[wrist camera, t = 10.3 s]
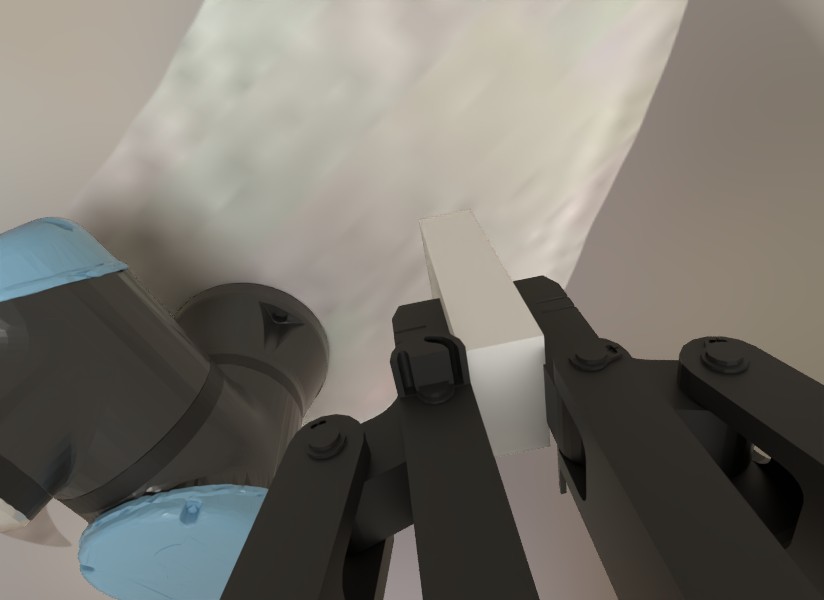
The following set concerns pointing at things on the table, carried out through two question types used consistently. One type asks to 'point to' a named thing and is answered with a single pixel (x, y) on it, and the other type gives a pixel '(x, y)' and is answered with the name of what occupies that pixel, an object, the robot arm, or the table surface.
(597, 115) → the table surface
